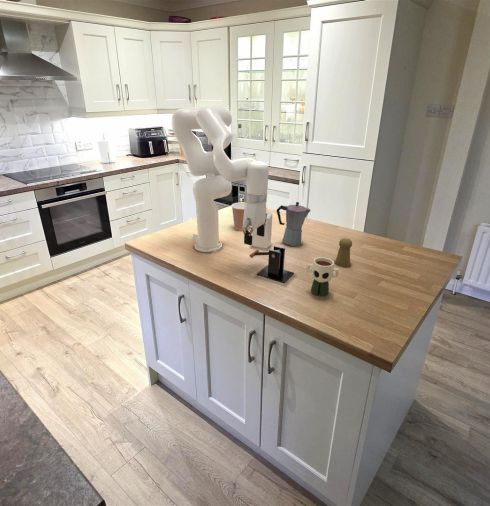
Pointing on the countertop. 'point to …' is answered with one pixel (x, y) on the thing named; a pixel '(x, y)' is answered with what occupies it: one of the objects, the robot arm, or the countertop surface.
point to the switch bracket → (276, 266)
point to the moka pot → (293, 223)
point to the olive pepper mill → (344, 253)
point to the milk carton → (266, 240)
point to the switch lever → (262, 253)
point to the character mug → (322, 275)
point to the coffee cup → (238, 214)
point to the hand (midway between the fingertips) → (254, 239)
